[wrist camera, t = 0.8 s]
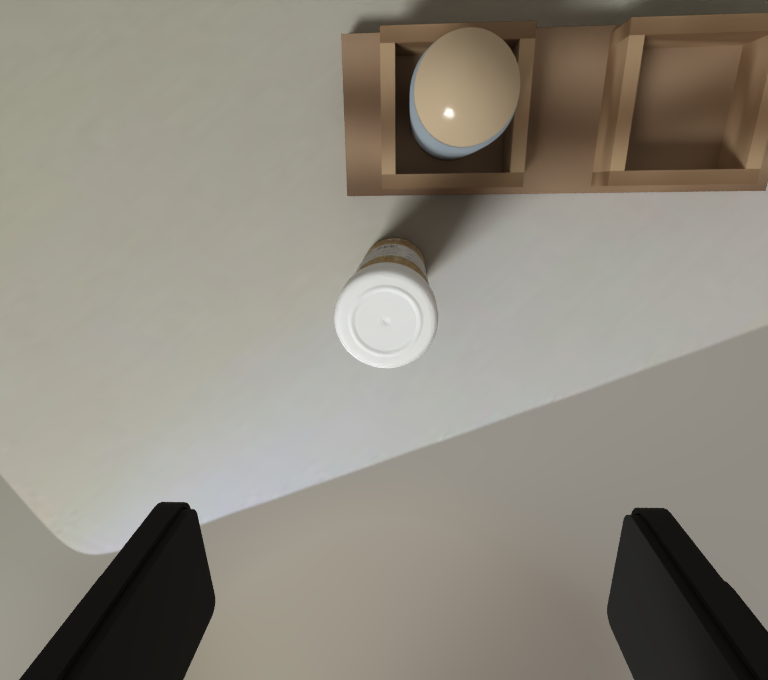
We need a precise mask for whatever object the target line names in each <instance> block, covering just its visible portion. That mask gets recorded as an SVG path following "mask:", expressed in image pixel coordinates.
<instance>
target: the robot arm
mask: <svg viewBox="0 0 768 680" xmlns="http://www.w3.org/2000/svg"><path fill="white" fill-rule="evenodd" d="M607 606H608V607H607V614H608V619H609V623H610V626H611V629H612V631H613V633H614V635H615V638H616V640H617V642H618V644H619V646H620V649H621V651H622V653H623V656H624V658H625V660H626V662H627V664H628V667H629V669H630V671H631V673H632V676H633V678H634V680H768V632H767V630H766V629H765V628H764V627H763V626H762V624H761V623H760V622H759V620H758V619H757V618H756V616H755V615H754V614H753V613H752V612H751V610H750V609H749V608H748V607H747V605H746V604H745V603H744V601H743V600H742V599H741V598H740V596H739V595H738V594H737V593H736V591H735V590H734V589H733V588H732V587H731V586H730V585H729V584H728V583H727V582H725V581H724V580H723V579H722V578H721V577H720V575H719V574H718V573H717V572H716V570H715V569H714V568H713V566H712V565H711V564H710V563H709V561H708V560H707V559H706V558H705V556H704V555H703V554H702V553H701V551H700V550H699V549H698V547H697V546H696V545H695V543H694V542H693V541H692V540H691V538H690V537H689V536H688V535H687V533H686V532H685V531H684V529H683V528H682V527H681V526H680V524H679V523H678V522H677V521H676V519H675V518H674V517H673V516H672V514H671V513H670V512H669V511H668V510H667V509H664V508H634V510H633V511H632V514H631V515H626V516H625V518H624V521H623V526H622V531H621V537H620V542H619V547H618V552H617V558H616V563H615V568H614V574H613V579H612V585H611V590H610V595H609V601H608V605H607ZM214 607H215V595H214V589H213V585H212V581H211V576H210V571H209V566H208V562H207V557H206V552H205V548H204V543H203V538H202V534H201V529H200V524H199V520H198V515H197V512H196V511H195V510H194V509H191V508H190V506H189V504H188V503H185V502H161V503H158V504H157V505H156V506H155V507H154V509H153V510H152V511H151V512H150V514H149V515H148V516H147V518H146V519H145V520H144V521H143V523H142V524H141V525H140V527H139V528H138V529H137V530H136V532H135V533H134V534H133V535H132V537H131V538H130V539H129V541H128V542H127V543H126V544H125V546H124V547H123V548H122V550H121V551H120V552H119V553H118V555H117V556H116V557H115V559H114V560H113V561H112V562H111V564H110V565H109V566H108V568H107V569H106V570H105V571H104V573H103V574H102V575H101V576H100V577H99V578H98V580H97V581H96V582H95V584H94V585H93V586H92V587H91V589H90V590H89V591H88V593H87V594H86V595H85V596H84V598H83V599H82V600H81V602H80V603H79V604H78V605H77V607H76V608H75V609H74V610H73V612H72V613H71V614H70V615H69V617H68V618H67V619H66V621H65V622H64V623H63V624H62V626H61V627H60V628H59V630H58V631H57V632H56V633H55V635H54V636H53V637H52V639H51V640H50V641H49V642H48V644H47V645H46V646H45V647H44V649H43V650H42V651H41V653H40V654H39V655H38V656H37V658H36V659H35V660H34V662H33V663H32V664H31V665H30V667H29V668H28V669H27V670H26V672H25V673H24V674H23V676H22V677H21V678H20V679H19V680H183V679H184V677H185V674H186V672H187V670H188V668H189V666H190V663H191V661H192V659H193V657H194V655H195V652H196V650H197V648H198V646H199V644H200V641H201V639H202V637H203V635H204V633H205V630H206V628H207V626H208V624H209V622H210V619H211V617H212V615H213V612H214Z"/></svg>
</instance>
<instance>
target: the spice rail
mask: <svg viewBox="0 0 768 680" xmlns="http://www.w3.org/2000/svg"><path fill="white" fill-rule="evenodd" d="M536 26H537V20H534V21H504V22H474V23H445V24H415V25H385V26H380V33H354V34H341V40H342V66H343V93H344V119H345V146H346V172H347V196H384V195H462V194H539V193H617V192H694V191H766V187H767V183H768V13H742V14H712V15H682V16H652V17H631V18H630V19H629V20H628V21H626V22H625V23H624V24H622V25H598V26H567V27H537V28H536ZM467 27H477V28H482V29H485V30H488V31H491V32H492V33H494V34H496V35H497V36H499V37H500V38H501V39H503V40H504V42H505V43H506V44H507V45H508V46H509V47H510V49H511V50H512V52H513V54H514V56H515V58H516V61H517V63H518V67H519V72H520V93H519V99H518V104H517V107H516V110H515V113H514V116H513V117H512V119H511V121H510V123H509V125H508V126H507V128H506V129H505V130H504V131H503V133H502V134H501V135H500V136H499V137H498V138H496V139H495V140H494V141H493V142H491V143H490V144H488V145H487V146H485V147H483V148H481V149H479V150H478V151H476V152H474V153H472V154H470V155H469V156H467V157H465V158H462V159H459V160H455V161H442V160H438V159H435V158H433V157H431V156H429V155H428V154H426V153H425V152H424V151H423V150H422V149H421V148H420V147H419V146H418V145H417V143H416V141H415V140H414V137H413V135H412V132H411V128H410V119H409V112H410V85H411V80H412V76H413V73H414V70H415V68H416V65H417V63H418V62H419V60H420V58H421V56H422V55H423V54H424V52H425V51H426V50H427V49H428V48H429V47H430V46H431V45H432V44H433V43H434V42H436V41H437V40H438V39H439V38H441V37H442V36H444V35H445V34H447V33H449V32H451V31H454V30H457V29H460V28H467Z"/></svg>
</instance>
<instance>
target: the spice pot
mask: <svg viewBox="0 0 768 680" xmlns="http://www.w3.org/2000/svg"><path fill="white" fill-rule="evenodd" d="M519 93H520V72H519V67H518V63H517V61H516V58H515V56H514V54H513V52H512V50H511V49H510V47H509V46H508V45H507V44H506V43H505V42H504V40H503V39H501V38H500V37H499V36H497V35H496V34H494V33H492V32H491V31H488V30H485V29H482V28H477V27H467V28H460V29H457V30H454V31H451V32H449V33H447V34H445V35H444V36H442V37H441V38H439V39H438V40H437V41H436V42H434V43H433V44H432V45H431V46H430V47H429V48H428V49H427V50H426V51H425V52H424V54H423V55H422V56H421V58H420V60H419V62H418V63H417V65H416V68H415V70H414V73H413V76H412V80H411V85H410V112H409V119H410V128H411V132H412V135H413V137H414V140H415V141H416V143H417V145H418V146H419V147H420V148H421V149H422V150H423V151H424V152H425V153H426V154H428V155H429V156H431V157H433V158H435V159H438V160H442V161H455V160H459V159H462V158H465V157H467V156H469V155H470V154H472V153H474V152H476V151H478V150H479V149H481V148H483V147H485V146H487V145H488V144H490V143H491V142H493V141H494V140H495V139H496V138H498V137H499V136H500V135H501V134H502V133H503V131H504V130H505V129H506V128H507V126H508V125H509V123H510V121H511V119H512V117H513V116H514V113H515V110H516V107H517V104H518V99H519Z"/></svg>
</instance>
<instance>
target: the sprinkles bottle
mask: <svg viewBox="0 0 768 680" xmlns="http://www.w3.org/2000/svg"><path fill="white" fill-rule="evenodd" d="M334 320H335V327H336V331H337V334H338V337H339V339H340V341H341V343H342V344H343V346H344V347H345V349H346V350H347V351H348V352H349V353H350V354H351V355H352V356H354V357H355V358H356V359H358V360H360V361H361V362H363V363H365V364H368V365H371V366H374V367H380V368H394V367H400V366H403V365H406V364H408V363H410V362H412V361H414V360H416V359H417V358H418V357H420V356H421V355H422V354H423V353H424V352H425V351H426V350H427V348H428V347H429V346H430V344H431V343H432V341H433V339H434V336H435V334H436V330H437V325H438V311H437V304H436V300H435V297H434V294H433V291H432V290H431V288H430V286H429V283H428V279H427V274H426V268H425V261H424V258H423V256H422V254H421V252H420V251H419V249H418V248H417V247H416V246H414V245H413V244H412V243H411V242H409V241H407V240H404V239H400V238H388V239H385V240H381V241H379V242H377V243H376V244H375V245H374V246H372V247H371V248H370V249H369V251H368V253H367V254H366V256H365V258H364V259H363V261H362V263H361V264H360V266H359V267H358V269H357V270H356V272H355V274H354V275H353V276H352V277H351V278H350V279H349V281H348V282H347V283H346V285H345V286H344V288H343V290H342V292H341V294H340V296H339V298H338V301H337V304H336V308H335V315H334Z"/></svg>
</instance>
